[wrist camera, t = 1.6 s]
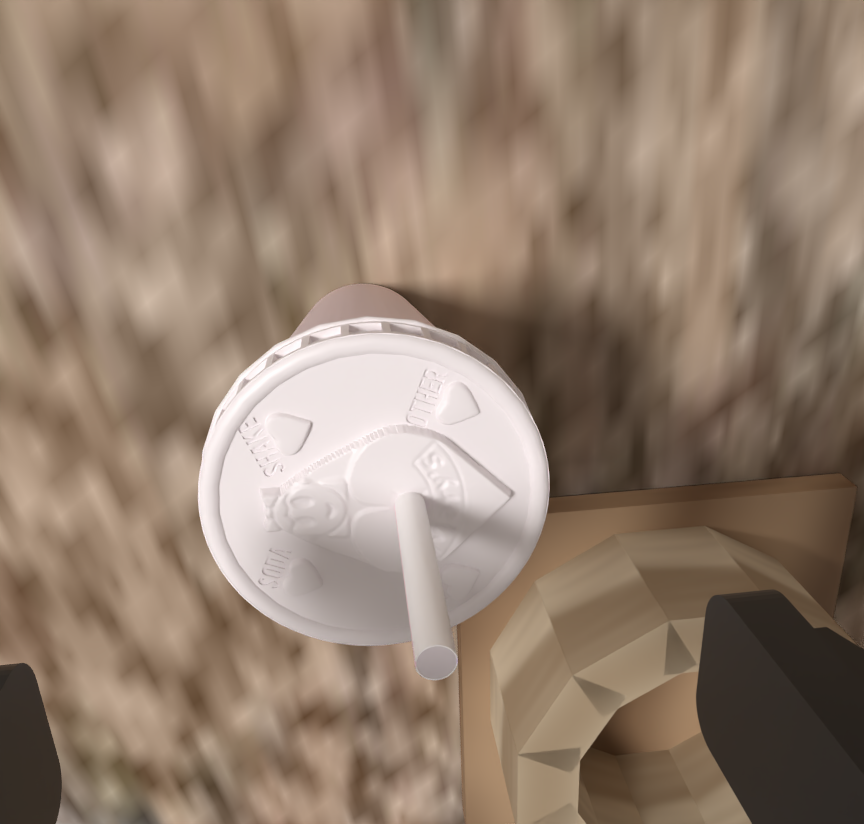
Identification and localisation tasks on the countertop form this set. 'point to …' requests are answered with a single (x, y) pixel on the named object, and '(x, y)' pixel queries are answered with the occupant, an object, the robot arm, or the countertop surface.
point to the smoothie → (373, 479)
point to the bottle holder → (630, 647)
